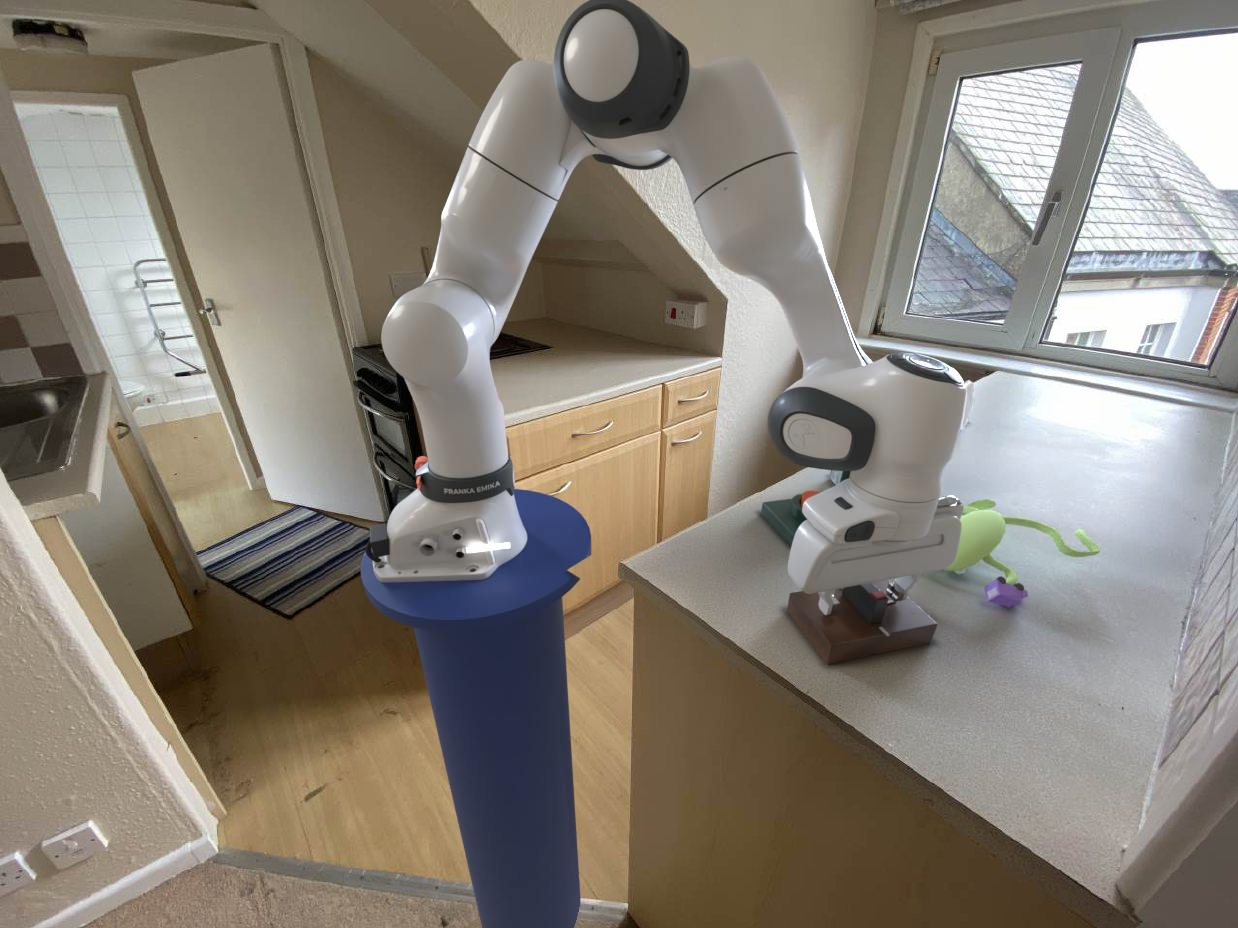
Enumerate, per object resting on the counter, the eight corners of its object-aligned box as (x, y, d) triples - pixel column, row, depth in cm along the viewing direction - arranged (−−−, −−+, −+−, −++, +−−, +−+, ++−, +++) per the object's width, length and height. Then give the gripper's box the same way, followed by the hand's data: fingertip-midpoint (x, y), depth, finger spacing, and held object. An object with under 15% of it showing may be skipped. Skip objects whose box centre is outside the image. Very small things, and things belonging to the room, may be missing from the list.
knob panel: (828, 667, 60) (833, 646, 58) (784, 609, 68) (788, 590, 67) (933, 645, 63) (940, 624, 61) (879, 592, 71) (884, 573, 70)
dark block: (841, 593, 66) (847, 569, 64) (852, 591, 66) (858, 567, 65) (870, 624, 61) (877, 599, 60) (882, 621, 62) (889, 596, 60)
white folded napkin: (962, 436, 118) (977, 389, 113) (941, 432, 120) (955, 385, 116) (969, 420, 127) (983, 375, 122) (949, 416, 129) (962, 372, 124)
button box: (791, 547, 80) (795, 524, 78) (760, 513, 89) (763, 492, 87) (860, 536, 83) (866, 514, 81) (824, 504, 92) (828, 484, 90)
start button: (808, 512, 82) (810, 503, 82) (796, 501, 85) (798, 491, 85) (829, 509, 83) (831, 500, 82) (816, 498, 86) (818, 489, 85)
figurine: (1104, 569, 75) (1120, 536, 73) (991, 630, 65) (1006, 594, 62) (975, 509, 90) (986, 480, 88) (866, 550, 79) (874, 519, 77)
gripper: (944, 481, 63) (915, 574, 69) (789, 502, 58) (773, 600, 64) (990, 507, 57) (954, 606, 63) (823, 534, 53) (801, 637, 59)
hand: (861, 604), depth 64 cm, fingers open, 8 cm apart
